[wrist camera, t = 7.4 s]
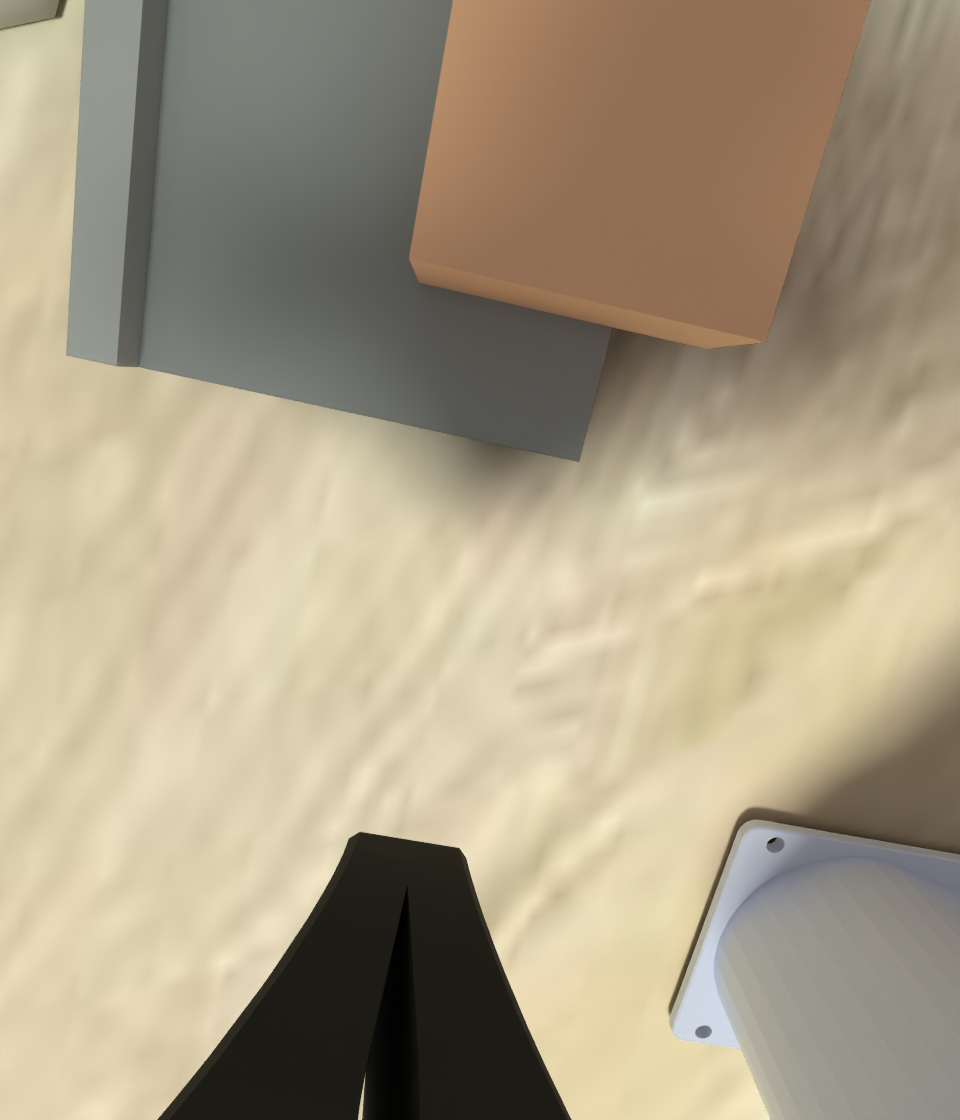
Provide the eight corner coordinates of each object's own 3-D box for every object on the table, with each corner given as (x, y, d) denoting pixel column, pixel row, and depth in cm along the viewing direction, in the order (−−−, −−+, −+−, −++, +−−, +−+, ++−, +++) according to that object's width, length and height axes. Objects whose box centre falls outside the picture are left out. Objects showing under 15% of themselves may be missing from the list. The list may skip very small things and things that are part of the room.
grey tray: (745, -246, 13) (800, -367, 11) (570, 456, 17) (586, 467, 14) (176, -426, 12) (116, -596, 10) (119, 358, 16) (66, 355, 14)
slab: (935, -209, 10) (511, -342, 9) (765, 341, 12) (408, 258, 11) (828, -77, 13) (498, -172, 12) (705, 348, 15) (419, 282, 14)
